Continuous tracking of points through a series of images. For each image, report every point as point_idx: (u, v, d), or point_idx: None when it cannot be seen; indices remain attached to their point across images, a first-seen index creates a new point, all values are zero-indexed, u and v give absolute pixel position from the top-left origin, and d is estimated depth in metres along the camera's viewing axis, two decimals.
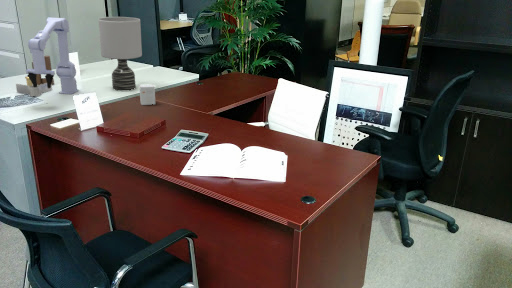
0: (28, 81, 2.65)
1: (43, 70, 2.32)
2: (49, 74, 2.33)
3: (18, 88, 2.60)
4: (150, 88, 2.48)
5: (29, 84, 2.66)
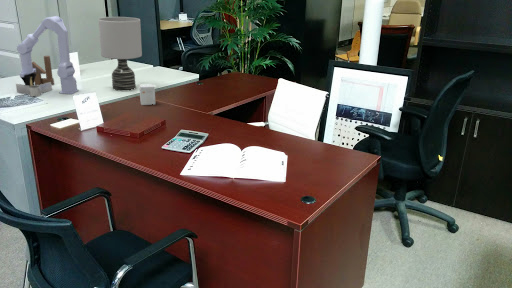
0: None
1: (23, 71, 2.62)
2: None
3: (18, 88, 2.60)
4: (150, 88, 2.48)
5: None
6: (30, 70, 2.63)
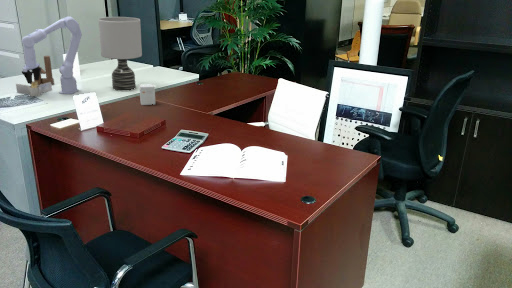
0: (33, 86, 2.55)
1: (26, 65, 2.49)
2: None
3: (18, 88, 2.60)
4: (150, 88, 2.48)
5: None
6: (34, 65, 2.50)
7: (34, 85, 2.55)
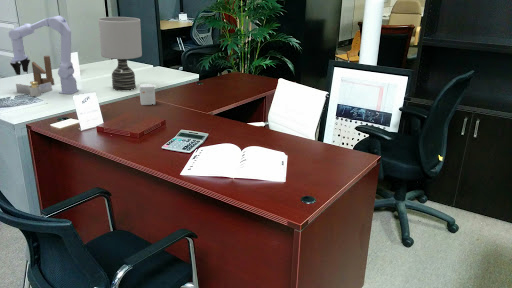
0: (33, 86, 2.55)
1: (14, 57, 2.56)
2: None
3: (18, 88, 2.60)
4: (150, 88, 2.48)
5: None
6: (22, 56, 2.57)
7: (34, 85, 2.55)
